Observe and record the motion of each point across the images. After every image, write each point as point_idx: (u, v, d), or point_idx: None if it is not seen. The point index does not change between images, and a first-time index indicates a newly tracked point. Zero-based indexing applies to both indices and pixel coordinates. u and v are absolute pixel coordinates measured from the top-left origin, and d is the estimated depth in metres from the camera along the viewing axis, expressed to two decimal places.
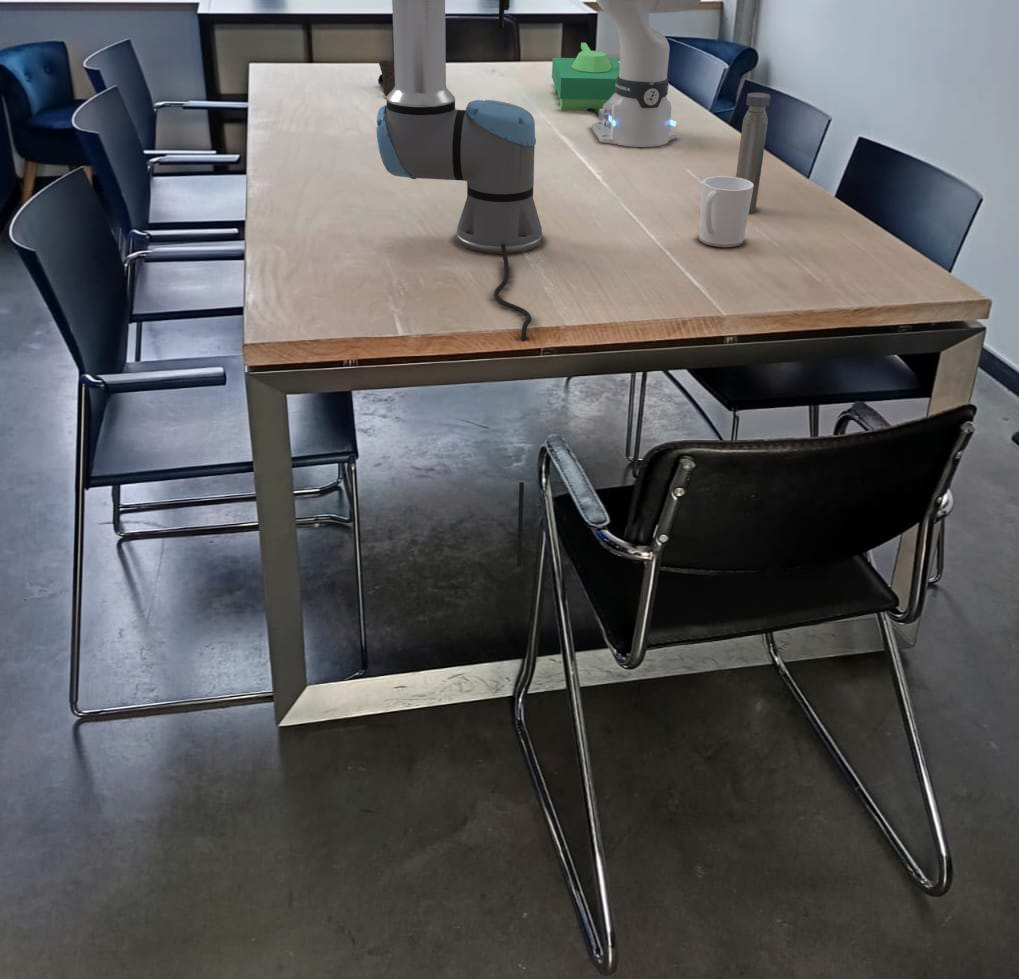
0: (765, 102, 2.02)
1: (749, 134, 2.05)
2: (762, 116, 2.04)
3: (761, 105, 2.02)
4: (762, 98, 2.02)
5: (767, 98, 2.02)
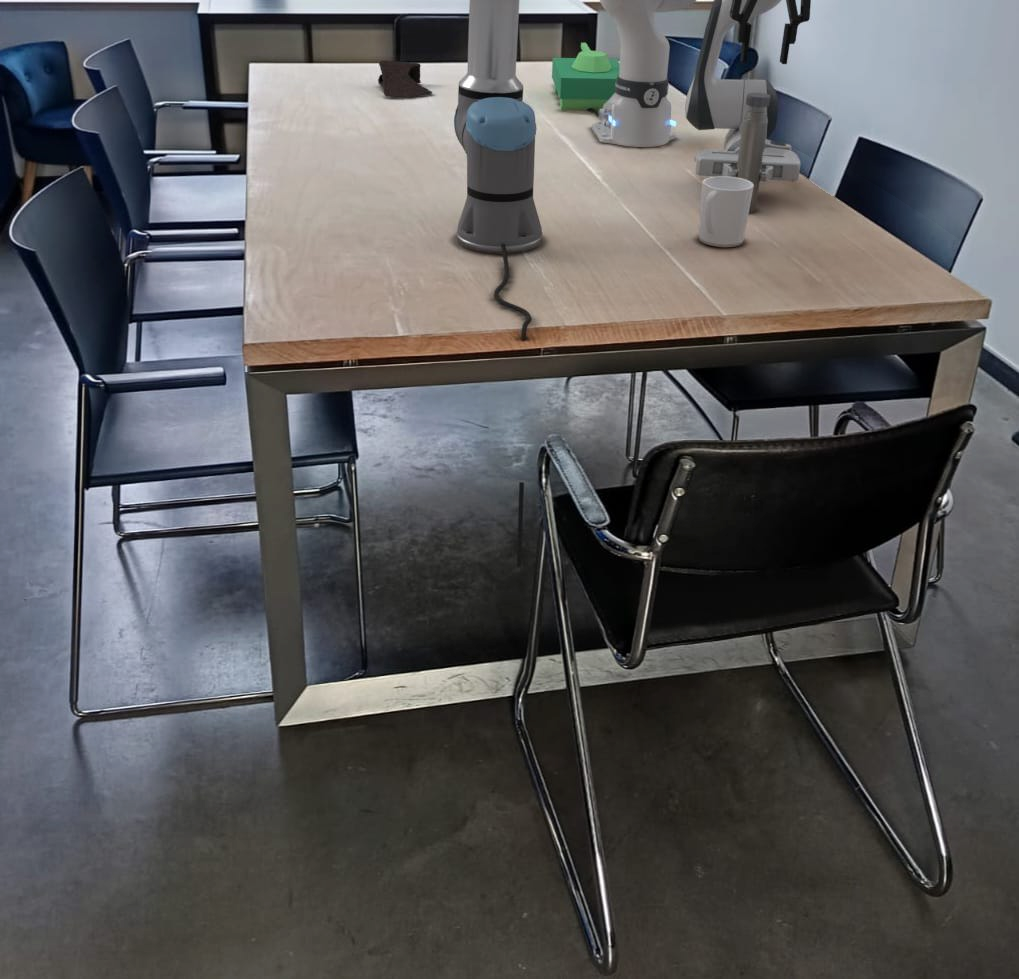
0: (765, 102, 2.02)
1: (749, 134, 2.05)
2: (762, 116, 2.04)
3: (761, 105, 2.02)
4: (762, 98, 2.02)
5: (767, 98, 2.02)
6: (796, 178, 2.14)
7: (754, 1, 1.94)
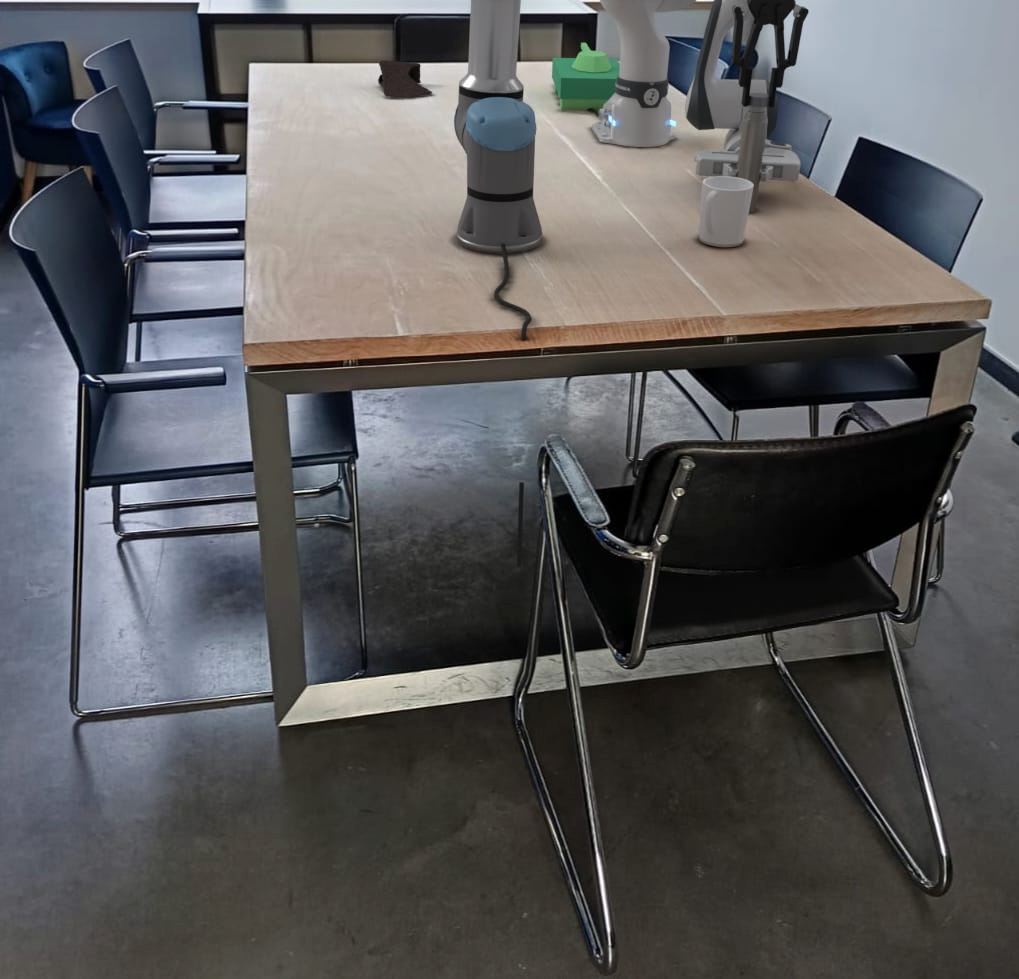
0: (765, 102, 2.02)
1: (749, 134, 2.05)
2: (762, 116, 2.04)
3: (761, 105, 2.02)
4: (762, 98, 2.02)
5: (767, 98, 2.02)
6: (796, 178, 2.14)
7: (753, 46, 1.98)
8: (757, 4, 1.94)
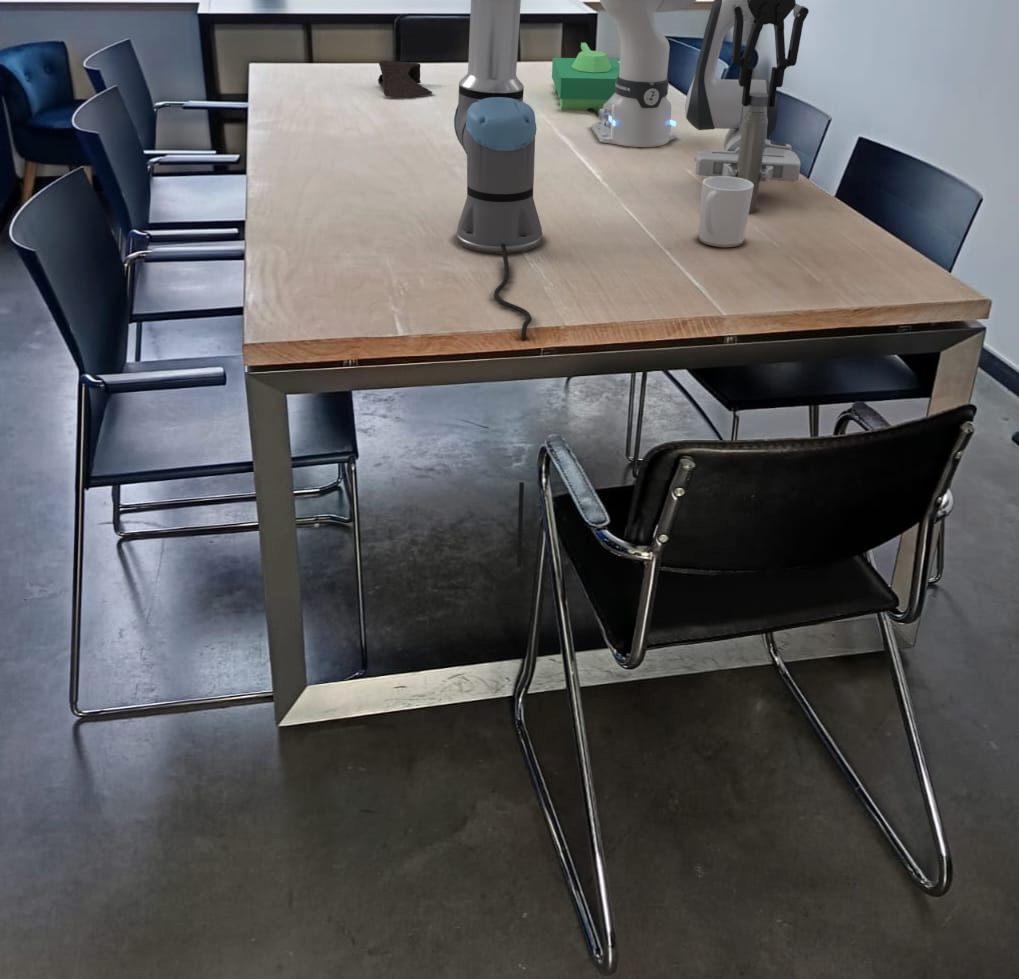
0: None
1: (749, 134, 2.05)
2: (762, 116, 2.04)
3: None
4: None
5: None
6: (796, 178, 2.14)
7: (753, 45, 1.98)
8: (757, 4, 1.94)
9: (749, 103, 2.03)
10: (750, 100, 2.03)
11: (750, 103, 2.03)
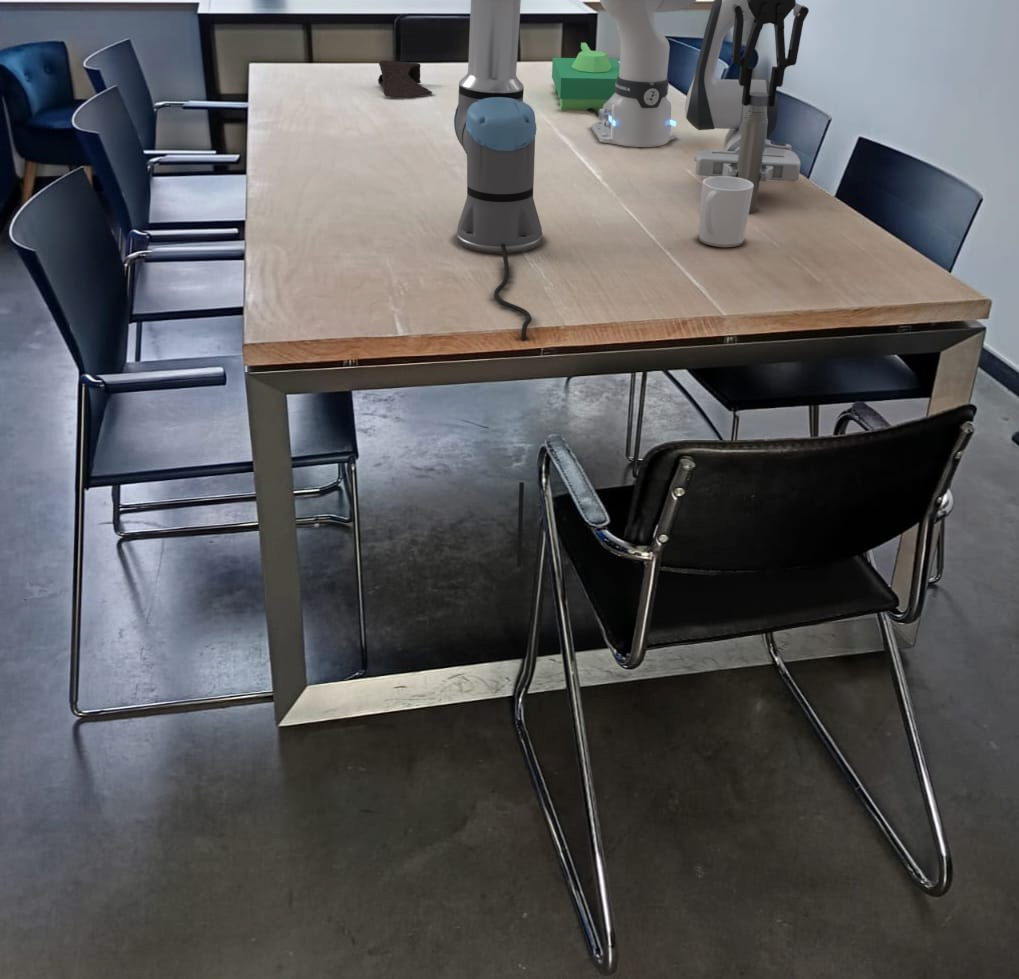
0: None
1: (749, 134, 2.05)
2: (762, 116, 2.04)
3: None
4: None
5: None
6: (796, 178, 2.14)
7: (753, 45, 1.98)
8: (757, 3, 1.94)
9: (765, 104, 2.02)
10: (766, 101, 2.02)
11: (766, 103, 2.02)
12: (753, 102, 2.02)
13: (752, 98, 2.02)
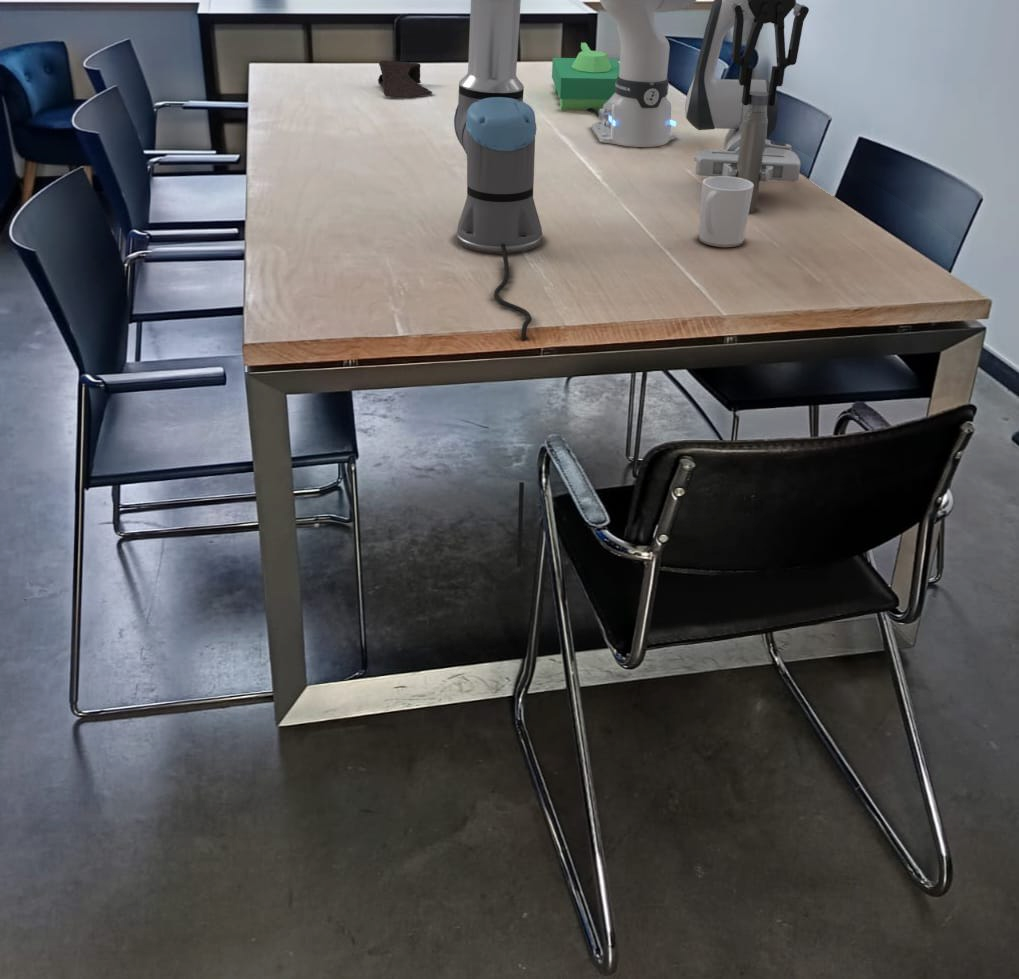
0: None
1: (749, 134, 2.05)
2: (762, 116, 2.04)
3: None
4: None
5: (750, 96, 2.02)
6: (796, 178, 2.14)
7: (753, 44, 1.98)
8: (757, 2, 1.94)
9: None
10: None
11: None
12: (768, 101, 2.03)
13: (767, 98, 2.02)
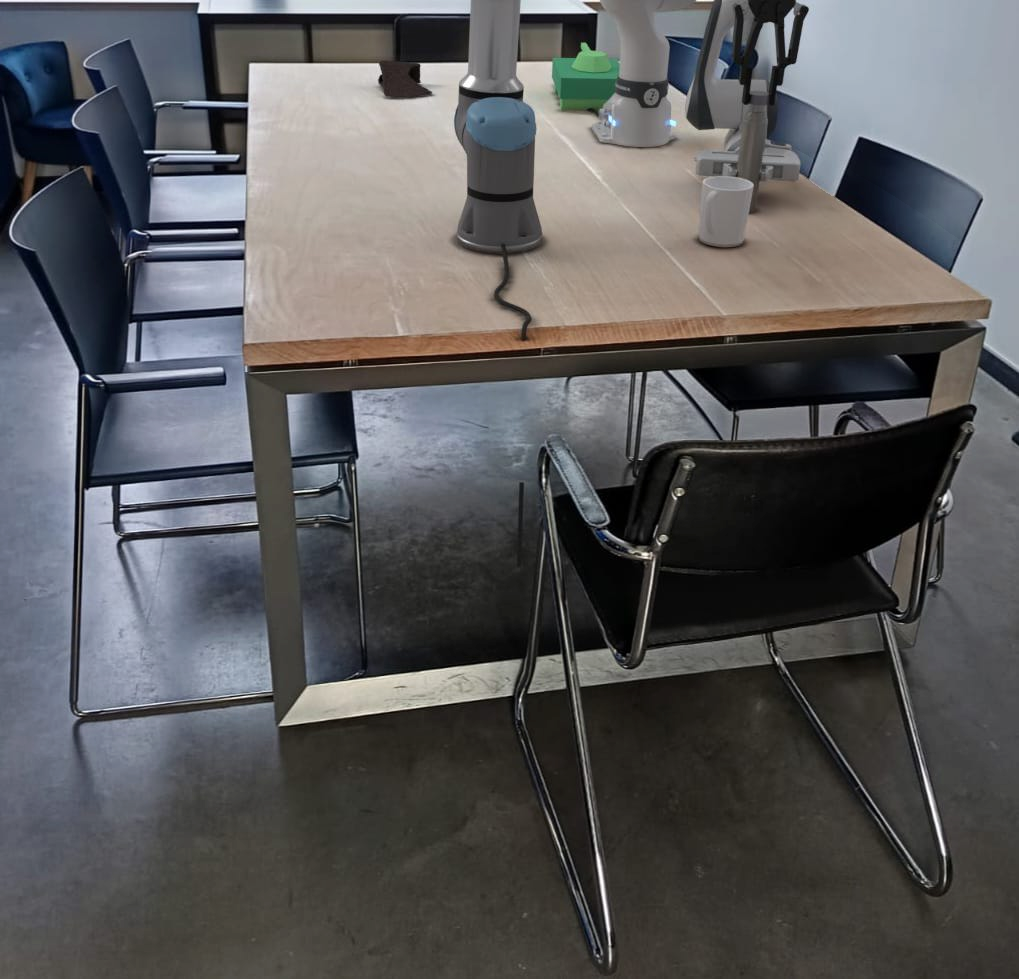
0: (763, 100, 2.02)
1: (749, 134, 2.05)
2: (762, 116, 2.04)
3: (759, 103, 2.02)
4: (760, 96, 2.01)
5: (765, 96, 2.02)
6: (796, 178, 2.14)
7: (753, 44, 1.98)
8: (757, 2, 1.94)
9: None
10: None
11: None
12: None
13: None
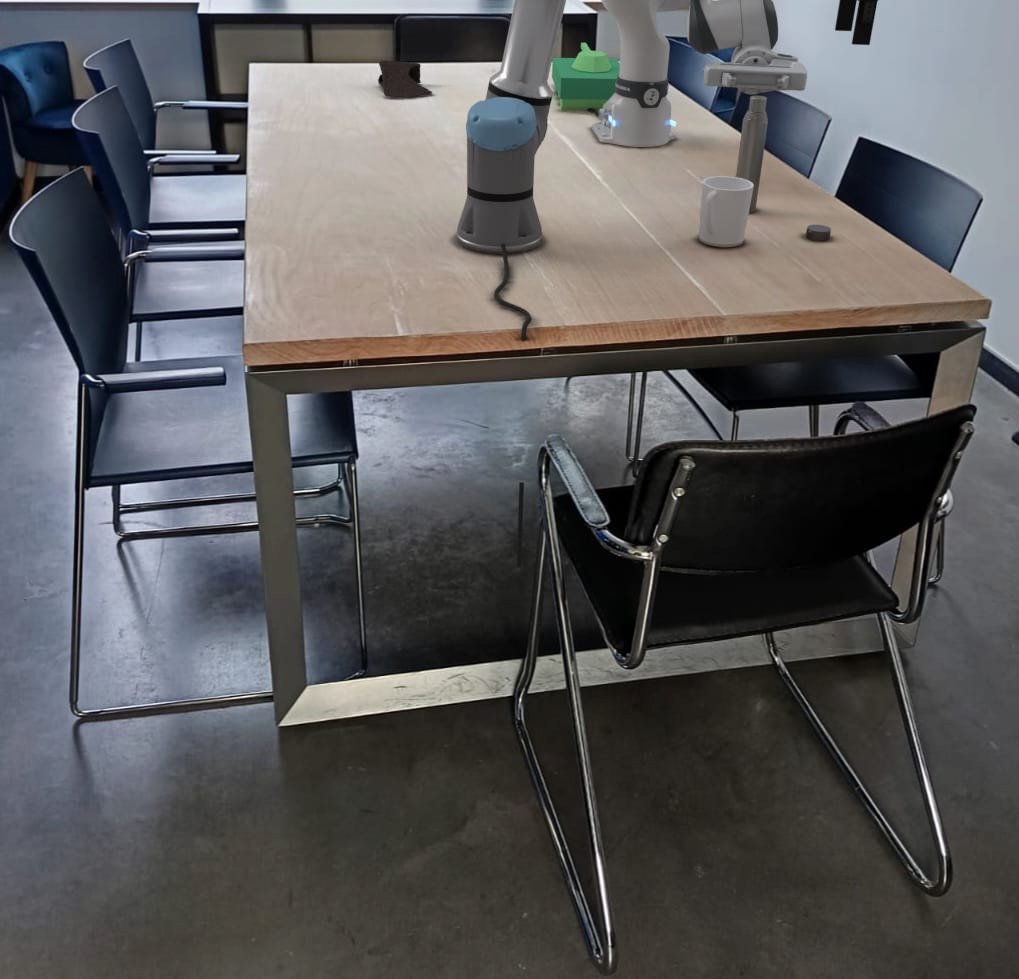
0: None
1: (749, 134, 2.05)
2: (762, 116, 2.04)
3: None
4: None
5: None
6: (803, 87, 2.18)
7: None
8: None
9: (823, 239, 1.99)
10: (824, 236, 1.99)
11: (824, 238, 1.99)
12: (811, 236, 1.99)
13: (810, 232, 1.99)
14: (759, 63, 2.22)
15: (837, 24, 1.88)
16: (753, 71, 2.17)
